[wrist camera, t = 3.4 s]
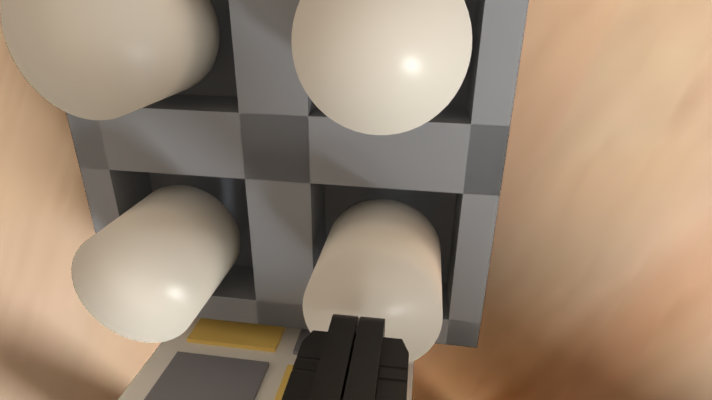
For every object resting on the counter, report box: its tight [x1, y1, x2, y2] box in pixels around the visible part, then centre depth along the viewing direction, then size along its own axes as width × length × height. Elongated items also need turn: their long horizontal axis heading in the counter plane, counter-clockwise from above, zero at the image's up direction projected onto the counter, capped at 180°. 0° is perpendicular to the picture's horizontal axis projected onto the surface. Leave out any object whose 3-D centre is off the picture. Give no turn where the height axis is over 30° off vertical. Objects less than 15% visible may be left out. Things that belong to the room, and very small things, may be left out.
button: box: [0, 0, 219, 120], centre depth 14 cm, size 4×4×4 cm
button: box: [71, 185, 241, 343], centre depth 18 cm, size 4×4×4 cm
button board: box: [66, 0, 529, 400], centre depth 16 cm, size 16×18×9 cm
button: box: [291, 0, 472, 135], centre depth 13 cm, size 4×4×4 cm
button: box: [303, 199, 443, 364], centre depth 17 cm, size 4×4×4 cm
